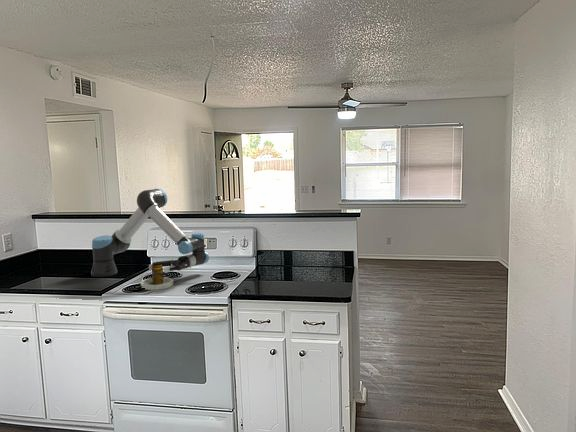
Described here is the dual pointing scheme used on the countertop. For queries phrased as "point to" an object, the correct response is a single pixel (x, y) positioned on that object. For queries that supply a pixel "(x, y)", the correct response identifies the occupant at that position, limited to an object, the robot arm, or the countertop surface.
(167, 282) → the white plate
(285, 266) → the countertop surface
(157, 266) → the condiment
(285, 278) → the countertop surface
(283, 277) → the countertop surface
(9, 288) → the countertop surface
